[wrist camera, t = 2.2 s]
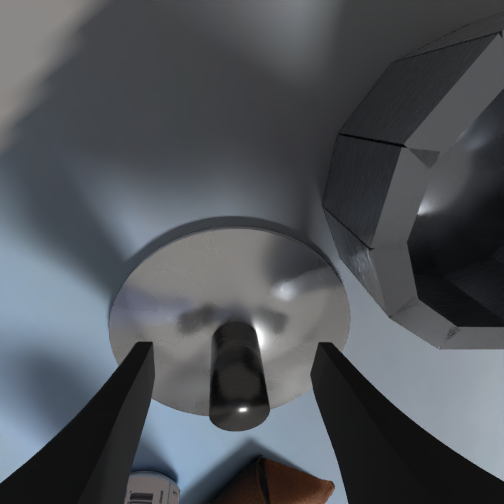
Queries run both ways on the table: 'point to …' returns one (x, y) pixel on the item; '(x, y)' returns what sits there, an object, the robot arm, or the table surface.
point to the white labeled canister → (151, 489)
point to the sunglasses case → (275, 486)
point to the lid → (230, 321)
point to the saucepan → (429, 190)
